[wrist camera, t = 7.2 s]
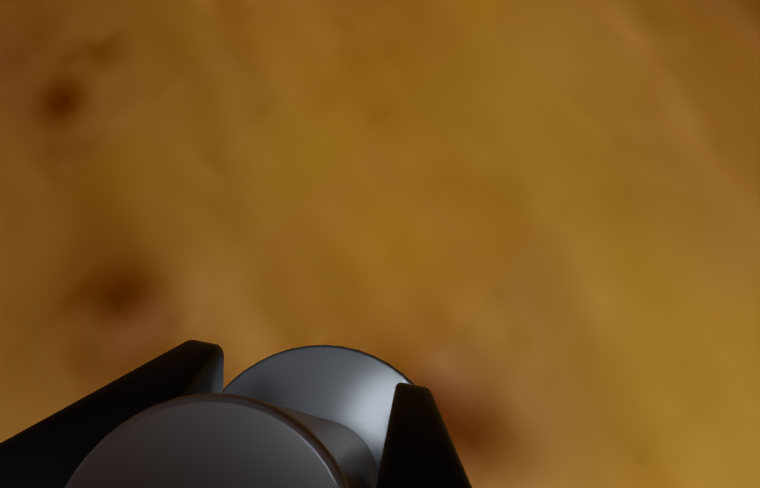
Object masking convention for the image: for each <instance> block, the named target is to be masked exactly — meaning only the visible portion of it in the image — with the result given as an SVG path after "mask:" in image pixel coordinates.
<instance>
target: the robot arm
mask: <svg viewBox="0 0 760 488" xmlns="http://www.w3.org/2000/svg"><path fill="white" fill-rule="evenodd" d="M223 366H224V354H223V350H222V348H221V347H220V346H219V345H217V344H212V343H207V342H202V341H197V340H189V341H186V342H184V343H182V344H180V345H179V346H177V347H175V348H173V349H171V350H170V351H168V352H166V353H164V354H162V355H160V356H159V357H157V358H155V359H153V360H151V361H149V362H148V363H146V364H144V365H142V366H140V367H139V368H137V369H135V370H133V371H131V372H129V373H128V374H126V375H124V376H122V377H120V378H118V379H117V380H115V381H113V382H111V383H109V384H108V385H106V386H104V387H102V388H100V389H98V390H97V391H95V392H93V393H91V394H89V395H87V396H86V397H84V398H82V399H80V400H78V401H77V402H75V403H73V404H71V405H69V406H67V407H66V408H64V409H62V410H60V411H58V412H56V413H55V414H53V415H51V416H49V417H47V418H46V419H44V420H42V421H40V422H38V423H36V424H35V425H33V426H31V427H29V428H27V429H25V430H24V431H22V432H20V433H18V434H16V435H15V436H13V437H11V438H9V439H7V440H5V441H4V442H2V443H0V488H64V487H65V486H66V484H67V483H68V481H69V479H70V478H71V476H72V475H73V473H74V471H75V470H76V469H77V467H78V466H79V465H80V463H81V462H82V461H83V460H84V458H85V457H86V456H87V455H88V453H89V452H90V451H91V450H92V449H93V448H94V447H95V446H96V445H97V444H98V443H99V442H100V441H101V440H102V439H103V438H104V437H105V436H106V435H108V434H109V433H110V432H111V431H113V430H114V429H115V428H116V427H118V426H119V425H120V424H121V423H123V422H125V421H126V420H128V419H129V418H131V417H133V416H134V415H136V414H138V413H139V412H141V411H143V410H146V409H148V408H150V407H152V406H154V405H156V404H159V403H162V402H165V401H168V400H171V399H174V398H178V397H183V396H188V395H194V394H206V393H223ZM376 488H472V486H471V484H470V482H469V479H468V477H467V475H466V472H465V470H464V468H463V465H462V463H461V461H460V458H459V456H458V453H457V451H456V449H455V446H454V444H453V442H452V439H451V437H450V435H449V432H448V430H447V428H446V425H445V423H444V421H443V418H442V416H441V414H440V411H439V409H438V407H437V404H436V402H435V400H434V397H433V395H432V393H431V391H430V390H429V389H428V388H426V387H423V386H418V385H413V384H408V383H403V382H400V383H398V384H397V385H396V387H395V391H394V396H393V401H392V407H391V412H390V417H389V422H388V427H387V432H386V438H385V443H384V448H383V453H382V459H381V464H380V469H379V475H378V480H377V485H376Z"/></svg>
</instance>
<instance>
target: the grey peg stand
mask: <svg viewBox="0 0 760 488" xmlns="http://www.w3.org/2000/svg"><path fill="white" fill-rule="evenodd" d="M400 382H403V383H408V384H413V385H415V384H414V383H413V382H412V381H410V380H409V379H408V378H407V377H406V376H405V375H404V374H403V373H401V372H400V371H399V370H397V369H396V368H394V367H393V366H391V365H390V364H389V363H387V362H385V361H383V360H381V359H379V358H377V357H375V356H373V355H370V354H368V353H365V352H362V351H359V350H356V349H351V348H347V347H342V346H332V345H312V346H304V347H298V348H292V349H289V350H286V351H282V352H279V353H276V354H274V355H271V356H269V357H267V358H265V359H263V360H261V361H259V362H257V363H256V364H254V365H252V366H251V367H249V368H248V369H246V370H244V371H243V372H242V373H241V374H240V375H238V376H237V377H236V378H235V379H233V380H232V381H231V382H230V383H229V384H228V385H227V386H226V387H225V388H224V389H223V393H206V394H194V395H188V396H183V397H178V398H174V399H171V400H168V401H165V402H162V403H159V404H156V405H154V406H152V407H150V408H148V409H146V410H143V411H141V412H139V413H138V414H136V415H134V416H133V417H131V418H129V419H128V420H126V421H125V422H123V423H121V424H120V425H119V426H118V427H116V428H115V429H114V430H113V431H111V432H110V433H109V434H108V435H106V436H105V437H104V438H103V439H102V440H101V441H100V442H99V443H98V444H97V445H96V446H95V447H94V448H93V449H92V450H91V451H90V452H89V453H88V455H87V456H86V457H85V458H84V460H83V461H82V462H81V463H80V465H79V466H78V467H77V469H76V470H75V471H74V473H73V475H72V476H71V478H70V479H69V481H68V483H67V484H66V486H65V487H64V488H376V485H377V480H378V475H379V469H380V464H381V459H382V453H383V448H384V443H385V438H386V432H387V427H388V422H389V417H390V412H391V407H392V401H393V396H394V391H395V387H396V385H397V384H398V383H400Z"/></svg>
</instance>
